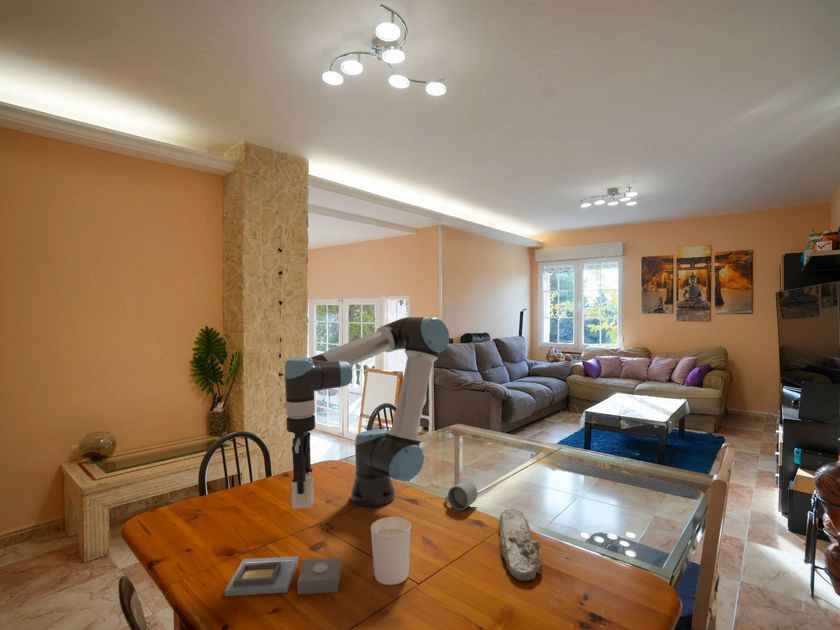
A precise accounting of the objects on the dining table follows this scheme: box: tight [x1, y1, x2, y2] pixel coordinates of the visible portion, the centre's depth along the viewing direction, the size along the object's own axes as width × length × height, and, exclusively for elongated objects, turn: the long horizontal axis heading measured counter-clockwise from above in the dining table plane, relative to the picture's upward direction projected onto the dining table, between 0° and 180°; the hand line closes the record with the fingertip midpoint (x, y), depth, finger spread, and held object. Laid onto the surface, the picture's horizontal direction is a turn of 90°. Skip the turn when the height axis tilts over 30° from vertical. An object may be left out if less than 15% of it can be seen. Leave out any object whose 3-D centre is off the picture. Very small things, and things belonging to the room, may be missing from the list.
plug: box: [289, 475, 315, 510], centre depth 120 cm, size 6×4×7 cm
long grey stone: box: [498, 508, 542, 582], centre depth 121 cm, size 35×5×10 cm
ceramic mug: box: [443, 480, 478, 511], centre depth 146 cm, size 11×8×8 cm
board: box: [224, 555, 300, 597], centre depth 107 cm, size 14×13×2 cm
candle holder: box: [370, 516, 412, 586], centre depth 107 cm, size 10×10×12 cm
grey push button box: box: [296, 557, 342, 595], centre depth 105 cm, size 9×9×3 cm
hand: (303, 500), depth 120 cm, fingers closed on plug, 4 cm apart
